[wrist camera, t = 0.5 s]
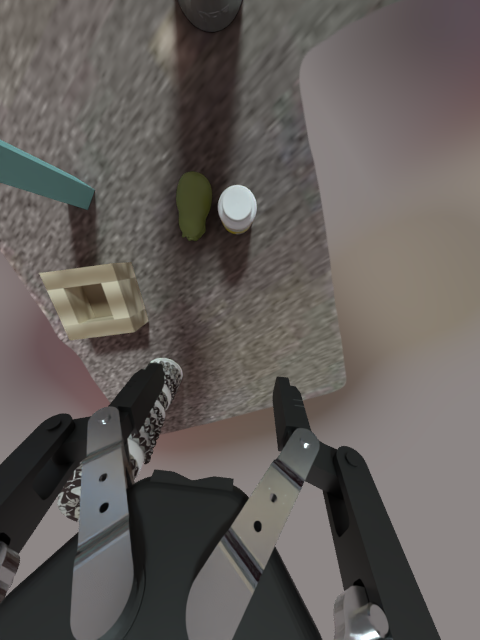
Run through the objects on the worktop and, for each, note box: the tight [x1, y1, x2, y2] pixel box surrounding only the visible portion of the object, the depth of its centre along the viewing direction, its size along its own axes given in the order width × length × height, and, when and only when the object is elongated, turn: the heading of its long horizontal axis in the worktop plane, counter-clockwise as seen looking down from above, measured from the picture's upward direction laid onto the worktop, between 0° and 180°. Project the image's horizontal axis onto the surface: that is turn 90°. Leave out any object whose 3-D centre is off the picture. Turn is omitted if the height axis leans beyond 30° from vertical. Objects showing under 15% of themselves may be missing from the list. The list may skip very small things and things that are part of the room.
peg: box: [0, 140, 95, 210], centre depth 25 cm, size 4×4×16 cm
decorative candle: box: [58, 358, 183, 522], centre depth 32 cm, size 9×9×25 cm
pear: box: [176, 171, 212, 241], centre depth 32 cm, size 6×5×10 cm
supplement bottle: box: [218, 185, 257, 234], centre depth 29 cm, size 6×6×10 cm
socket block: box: [39, 262, 149, 340], centre depth 35 cm, size 12×12×6 cm
